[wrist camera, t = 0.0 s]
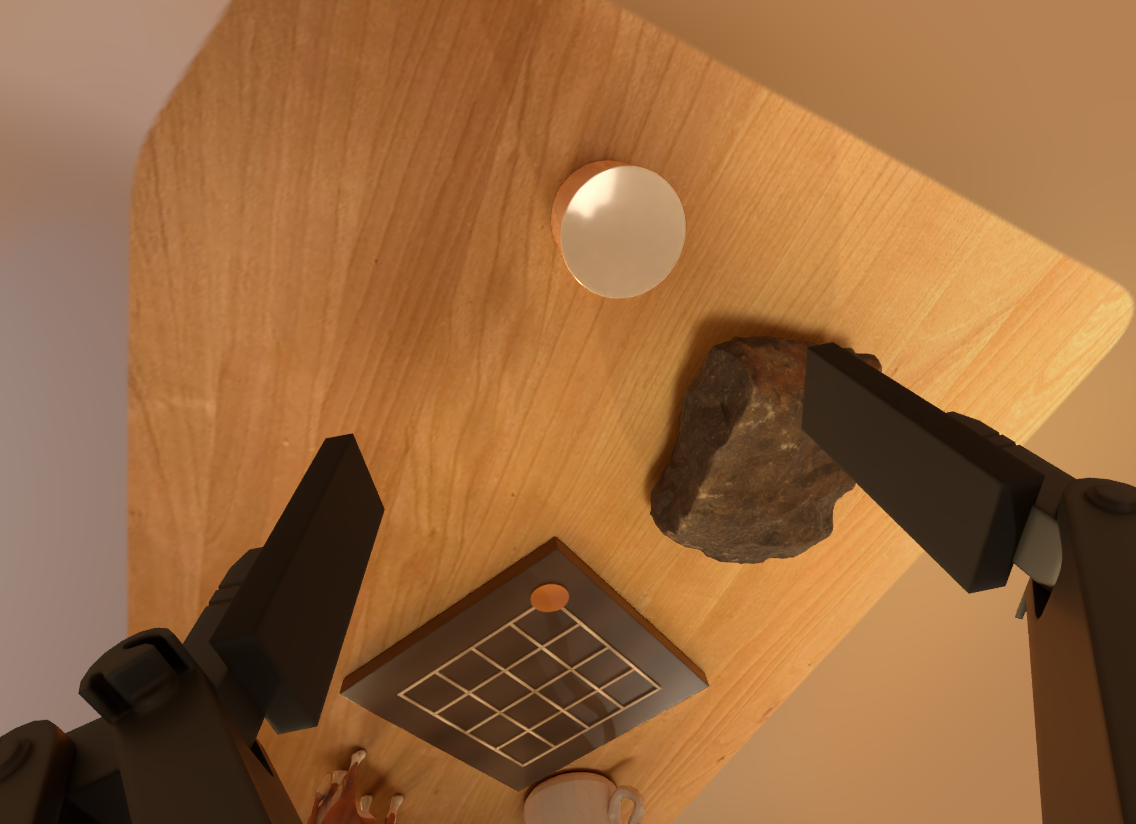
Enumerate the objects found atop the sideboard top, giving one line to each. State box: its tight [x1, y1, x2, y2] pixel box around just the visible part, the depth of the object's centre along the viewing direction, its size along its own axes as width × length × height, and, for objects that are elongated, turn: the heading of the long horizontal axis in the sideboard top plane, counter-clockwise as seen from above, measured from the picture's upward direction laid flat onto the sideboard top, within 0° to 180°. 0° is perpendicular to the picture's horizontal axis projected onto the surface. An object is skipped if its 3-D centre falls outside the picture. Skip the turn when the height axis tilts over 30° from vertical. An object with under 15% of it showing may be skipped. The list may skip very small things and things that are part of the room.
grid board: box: [339, 537, 709, 792], centre depth 40 cm, size 20×20×1 cm
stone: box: [650, 337, 882, 564], centre depth 29 cm, size 10×14×6 cm
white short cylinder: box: [551, 160, 686, 299], centre depth 23 cm, size 5×5×4 cm
